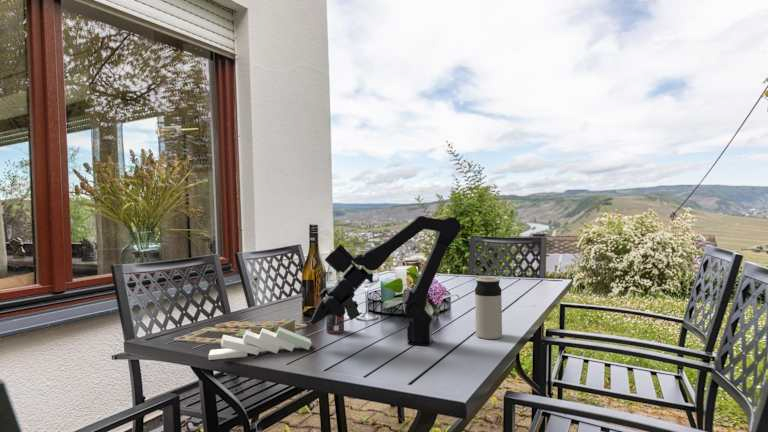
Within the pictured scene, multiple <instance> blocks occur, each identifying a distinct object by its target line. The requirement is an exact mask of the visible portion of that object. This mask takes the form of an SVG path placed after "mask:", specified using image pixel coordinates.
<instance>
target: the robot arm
mask: <svg viewBox="0 0 768 432" xmlns="http://www.w3.org/2000/svg"><path fill="white" fill-rule="evenodd" d="M461 229H462V225H461V223H460V221H459V220H458V219H457V218H456V217H451V216H450V217H449V216H448V217H447V216H446V217H442V218H434V217H426V216H424V215H419V216H417V217H415V218H414V220H412V221H411V222H410V223H408V224H407V225H406V226H404V227H402V228H401V229H400V230H399V231H398V232H395V234H394V235H392V236H391V237H389V238H388V239H387V240H386V241H384V242H382V243H380V244H378V245H375V246H374V247H372V248H369V249H368V250H366V251H364V252H363V254H358V255H357V254H356V255H353V254H351V253H350V252H349V250H347V249H346V248H345V246H344V245H343V244H342V243H341V244H339V245H338V246H337V247H336V248H335V249H334V250H332V251H331V252H330V253H329V254H328V255H327V256H326V257H325V259H324V261H325V262H326V263H327V265H329V266H330V267H331V268H332V269H333V270H334V271H335V272H337V273H342V274H343V273H344V274H343V276H342V277H341V278H338V279H337V280H336V283H335V284H334V285H333V286H332V287H331V288H327V287H323V288H322V290H321V291H320V292H319V294H320V295H321V296H323V297H321V296H320V297H319V300H318V303H317V306H316V308H315V311H314V313H313V315H312V317H311V319H310V323H311V324H312V326H313V325H315V324H317V323H318V322H320V321H322V320H324V319H326V316H328V315H337V316H339V317H340V318H341V317H342V316H343V315H344V316H345V314H346V315H347V316H348V318H349V320H350V321H352V320H354V319H356V318H358V317H359V316H361V313H360V312H359V309H358V308H359V305H358V303H357V301H356V300H354V299H353V298H354V297H355V295H356V294H355V293H356V291H357V290H359V288H360V287H361V286H362V285H363V283H364V282H365V281H366V280H367V281H369V283H372V284H373V283H374V279H373V278H374V277H373V276H374V273H372V272H371V273H369V272H368V271H376V270H378V269H379V268H380V267H382V266H383V264H384V263H385V262H386V261H387V260H388V258H389V257H390V256H391V255H392V254H393V253H394V252H395V251H396V250H398V249H399V248H401V247H402V246H403V245H405V244H406V243H407V242H408V241H410V240H411V239H412V238H414V237H415V236H416V235H418V234H419V233H420V232H422V231H423V230H427V231H434V232H435V235H434V243H433V245H432V247H431V250H430V253H429V254H428V256H427V258H426V261H425V263H424V266H423V268H422V270H421V271H420V275H419V277H418V278H417V281H416V282H415V285H414V287H413V288H412V289H410V288H406V291H405V295H404V296H403V298H402V299H401V301H402V308H403V312H404V313H405V315H406V316H407V317H408V318H409V319H410V320H409V321H408V326H407V327H406V333H407V334H406V335H407V336H406V337H407V338H406V340H407V344H408V345H414V346H426V347H427V346H430V345H431V344H432V342H433V341H434V338H433V335H432V333H433V332H432V321H433V317H432V316H431V315H430V313H429V312H428V311H427V310H426V306H427V303H428V302H427V301H428V294H429V290H430V288H431V285H432V283H433V281H434V279H435V276H436V275H437V272H438V270H439V268H440V266H441V263H442V261H443V258H444V256H445V254H446V252H447V249H448V248H449V247H450V246H451V244H453V242H454V241H455V239H456V238H457V236H458V235H459V233H460V231H461ZM355 264H356V265H355ZM358 266H361V267H360V268H359V267H358ZM347 269H348V270H347ZM345 272H346V273H345Z"/></svg>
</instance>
